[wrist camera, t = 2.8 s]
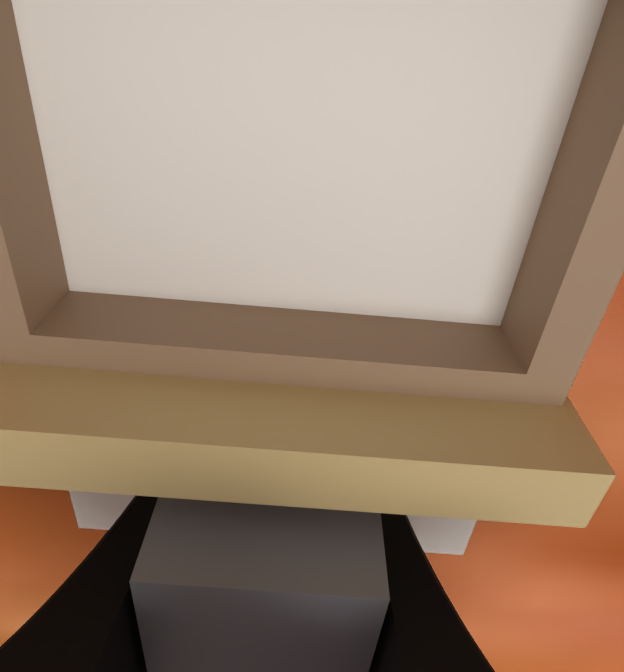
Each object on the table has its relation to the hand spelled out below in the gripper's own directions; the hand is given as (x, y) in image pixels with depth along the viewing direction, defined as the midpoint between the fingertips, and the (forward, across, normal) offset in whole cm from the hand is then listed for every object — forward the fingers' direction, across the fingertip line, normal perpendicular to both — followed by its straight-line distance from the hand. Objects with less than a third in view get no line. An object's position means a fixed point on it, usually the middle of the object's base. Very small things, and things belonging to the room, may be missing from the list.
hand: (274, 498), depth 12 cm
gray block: (0, 0, 0) cm, 0 cm away
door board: (+2, 0, -4) cm, 4 cm away
